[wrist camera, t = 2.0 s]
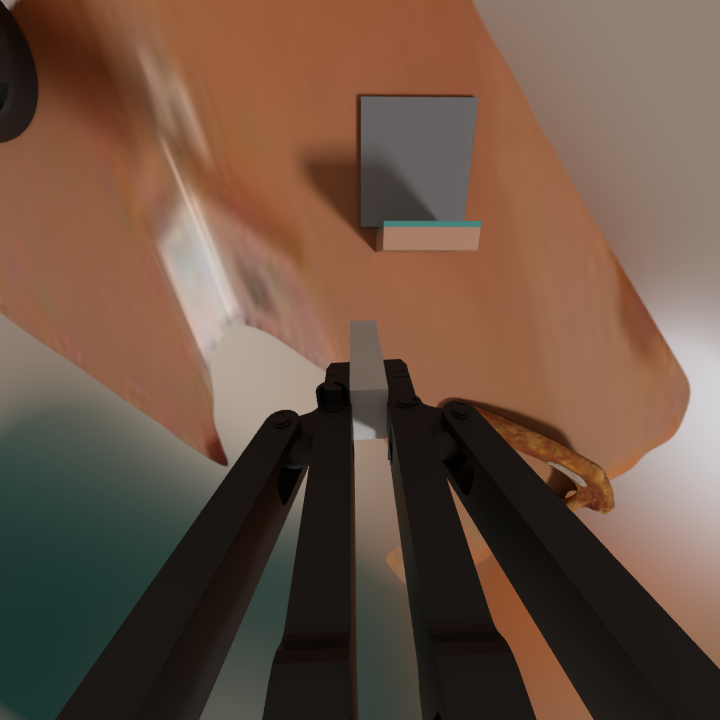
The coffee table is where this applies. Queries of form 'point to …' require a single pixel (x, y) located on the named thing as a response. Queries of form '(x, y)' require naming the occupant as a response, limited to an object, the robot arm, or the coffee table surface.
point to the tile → (427, 236)
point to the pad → (415, 158)
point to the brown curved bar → (560, 464)
